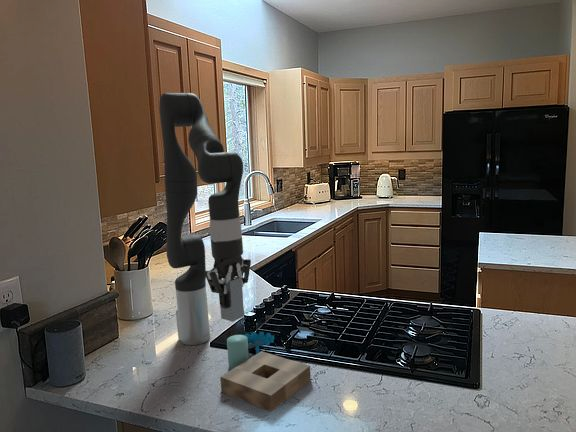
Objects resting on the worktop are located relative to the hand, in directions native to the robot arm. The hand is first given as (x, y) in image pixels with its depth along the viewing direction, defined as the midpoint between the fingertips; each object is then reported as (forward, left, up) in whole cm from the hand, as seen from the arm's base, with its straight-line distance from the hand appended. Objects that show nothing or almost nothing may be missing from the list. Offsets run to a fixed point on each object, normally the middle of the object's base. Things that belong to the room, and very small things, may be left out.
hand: (231, 304), depth 115 cm
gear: (-8, +17, -22) cm, 29 cm away
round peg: (-7, +8, -22) cm, 24 cm away
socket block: (+6, +4, -22) cm, 23 cm away
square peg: (0, 0, -3) cm, 3 cm away
